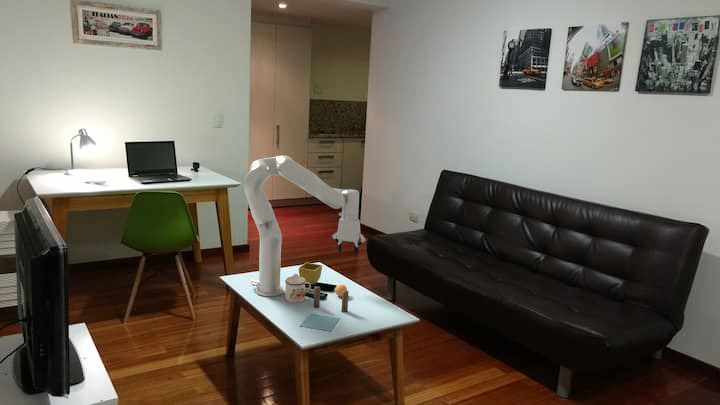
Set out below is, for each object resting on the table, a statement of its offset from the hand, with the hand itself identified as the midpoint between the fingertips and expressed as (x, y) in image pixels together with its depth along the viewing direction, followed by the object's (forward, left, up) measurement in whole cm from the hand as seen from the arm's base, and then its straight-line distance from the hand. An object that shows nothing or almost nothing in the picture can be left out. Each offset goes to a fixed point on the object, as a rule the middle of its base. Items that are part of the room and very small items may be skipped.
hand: (348, 253), depth 260 cm
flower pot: (-18, 0, -18) cm, 25 cm away
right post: (+6, -25, -18) cm, 32 cm away
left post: (-6, -25, -18) cm, 32 cm away
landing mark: (0, -39, -18) cm, 43 cm away
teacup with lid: (-17, -19, -18) cm, 31 cm away
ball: (0, -9, -15) cm, 18 cm away
